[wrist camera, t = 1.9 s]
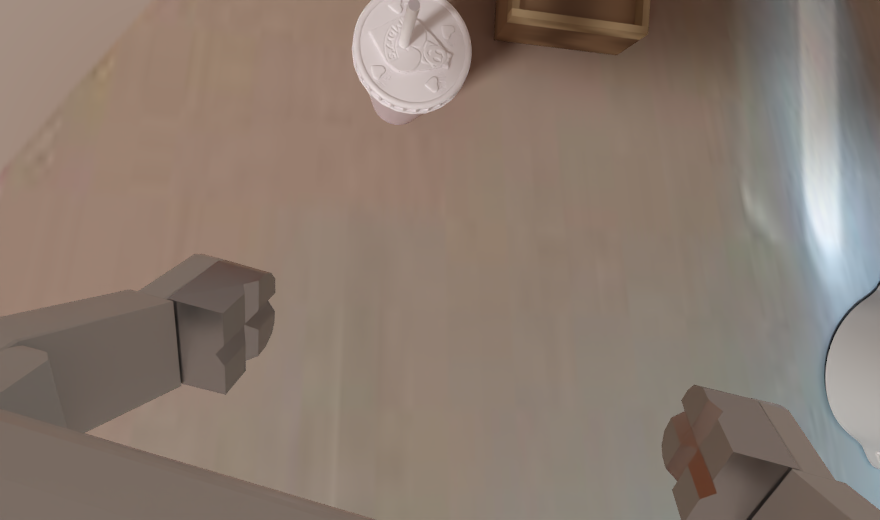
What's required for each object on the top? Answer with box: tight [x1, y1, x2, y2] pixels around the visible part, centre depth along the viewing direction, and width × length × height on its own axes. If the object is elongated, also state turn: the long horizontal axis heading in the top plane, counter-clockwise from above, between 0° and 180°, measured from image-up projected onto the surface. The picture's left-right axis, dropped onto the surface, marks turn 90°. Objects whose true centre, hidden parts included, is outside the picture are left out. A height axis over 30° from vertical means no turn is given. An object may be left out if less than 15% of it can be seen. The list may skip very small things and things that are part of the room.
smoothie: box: [352, 0, 472, 125], centre depth 27 cm, size 6×6×14 cm
